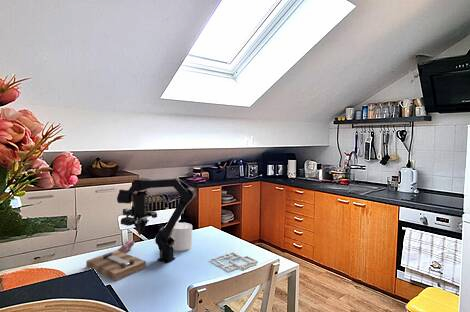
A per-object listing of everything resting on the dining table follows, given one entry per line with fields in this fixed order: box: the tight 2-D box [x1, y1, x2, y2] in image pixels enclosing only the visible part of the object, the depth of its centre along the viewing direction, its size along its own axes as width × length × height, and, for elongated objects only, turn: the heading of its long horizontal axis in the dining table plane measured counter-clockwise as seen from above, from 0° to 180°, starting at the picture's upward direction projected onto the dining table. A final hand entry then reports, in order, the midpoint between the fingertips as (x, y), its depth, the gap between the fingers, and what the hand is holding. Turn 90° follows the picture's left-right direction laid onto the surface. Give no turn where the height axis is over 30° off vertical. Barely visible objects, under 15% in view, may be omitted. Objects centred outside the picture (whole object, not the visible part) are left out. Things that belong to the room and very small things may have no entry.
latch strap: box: [107, 255, 131, 266], centre depth 138 cm, size 14×3×1 cm, turn 57°
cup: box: [171, 222, 193, 252], centre depth 167 cm, size 12×12×12 cm
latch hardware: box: [102, 251, 134, 268], centre depth 139 cm, size 16×6×2 cm, turn 57°
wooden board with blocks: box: [85, 249, 147, 282], centre depth 139 cm, size 22×16×3 cm
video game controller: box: [117, 239, 136, 254], centre depth 158 cm, size 10×5×7 cm, turn 169°
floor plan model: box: [208, 251, 259, 273], centre depth 151 cm, size 19×25×2 cm
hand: (139, 234), depth 150 cm, fingers closed
